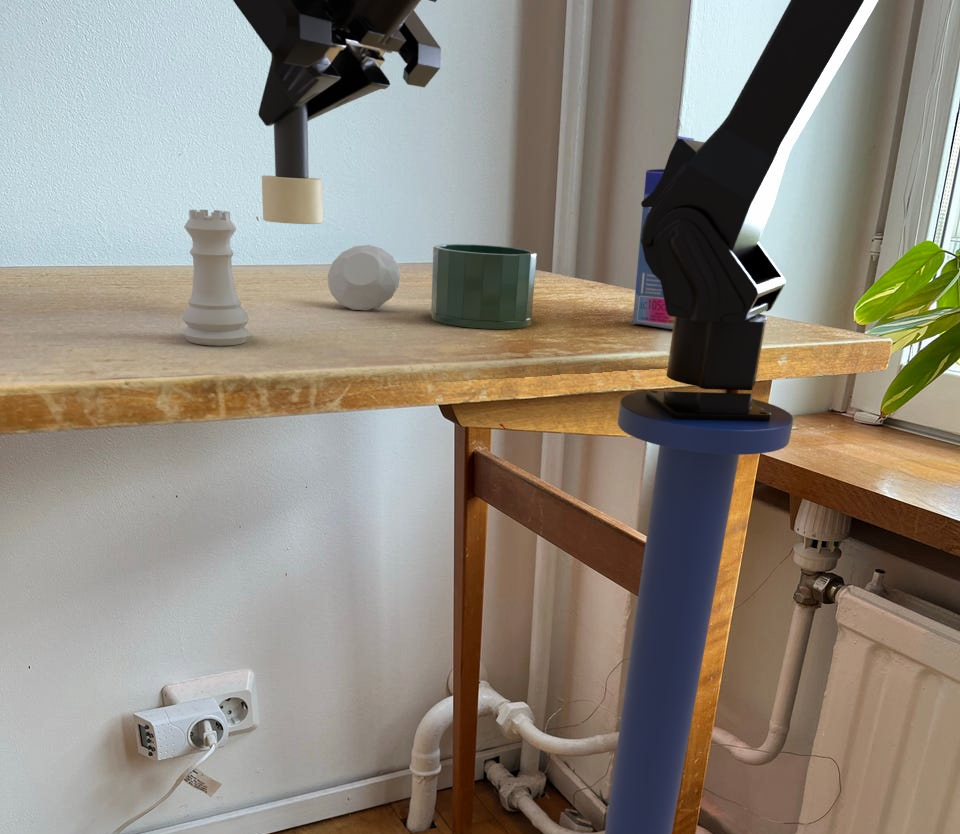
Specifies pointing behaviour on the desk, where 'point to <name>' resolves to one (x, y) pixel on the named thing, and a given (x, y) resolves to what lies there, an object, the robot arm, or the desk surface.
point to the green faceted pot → (483, 286)
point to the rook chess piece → (213, 283)
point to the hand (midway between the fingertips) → (275, 121)
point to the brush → (292, 175)
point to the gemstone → (363, 277)
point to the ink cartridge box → (650, 274)
